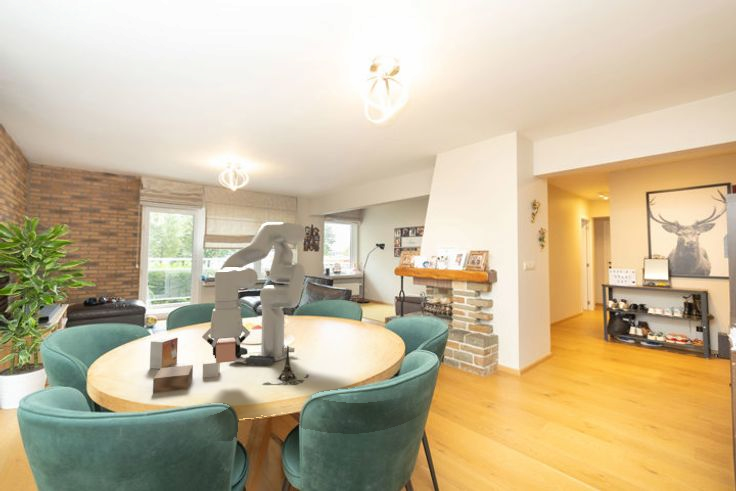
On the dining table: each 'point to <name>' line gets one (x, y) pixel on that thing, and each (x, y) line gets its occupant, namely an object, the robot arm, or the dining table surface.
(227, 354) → the terracotta cube
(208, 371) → the pale grey cube
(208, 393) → the dining table surface
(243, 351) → the can opener
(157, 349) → the small box
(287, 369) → the eiffel tower figurine
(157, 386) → the walnut base block
